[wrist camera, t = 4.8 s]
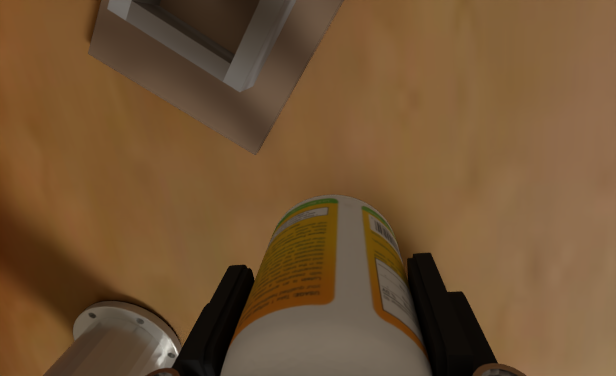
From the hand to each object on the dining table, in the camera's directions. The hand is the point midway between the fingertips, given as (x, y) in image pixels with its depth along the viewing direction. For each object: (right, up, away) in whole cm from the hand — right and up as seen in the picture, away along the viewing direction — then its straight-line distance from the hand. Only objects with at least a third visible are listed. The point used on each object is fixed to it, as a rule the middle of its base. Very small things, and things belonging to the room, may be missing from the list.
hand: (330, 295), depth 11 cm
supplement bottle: (0, +1, +3) cm, 3 cm away
